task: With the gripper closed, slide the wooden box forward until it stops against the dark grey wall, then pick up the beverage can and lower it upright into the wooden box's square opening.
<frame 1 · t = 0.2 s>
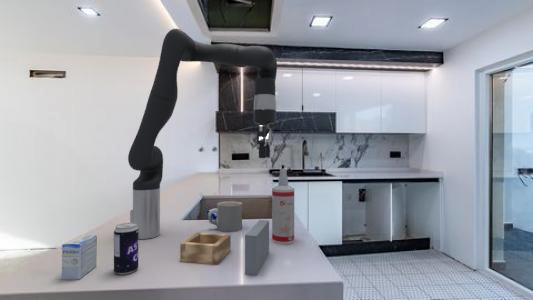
hand: (264, 157, 96), 29 cm above the counter, tool pointing down, fingers open, 8 cm apart
beverage can: (126, 272, 73), on the counter
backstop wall: (258, 263, 79), on the counter
medicine box: (80, 273, 73), on the counter
spray bottle: (283, 241, 98), on the counter
coffee mug: (225, 229, 114), on the counter
wooden box: (206, 247, 84), point 3 cm above the counter, slide at 0.0 cm
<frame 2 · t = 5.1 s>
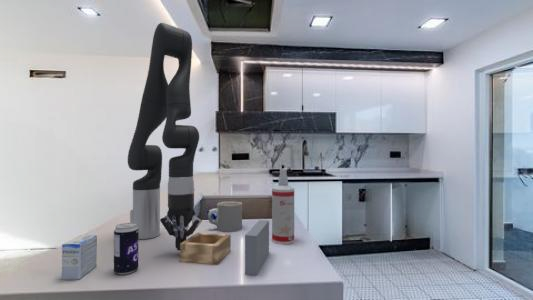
hand: (181, 249, 85), 2 cm above the counter, tool pointing down, fingers closed
wooden box: (206, 247, 84), point 3 cm above the counter, slide at 0.0 cm, touching gripper
everything else where it was.
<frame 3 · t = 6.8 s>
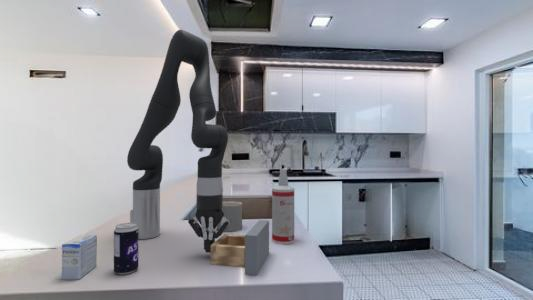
hand: (209, 251, 83), 2 cm above the counter, tool pointing down, fingers closed
wooden box: (236, 249, 82), point 3 cm above the counter, slide at 9.0 cm, touching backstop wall, gripper
everything else where it was.
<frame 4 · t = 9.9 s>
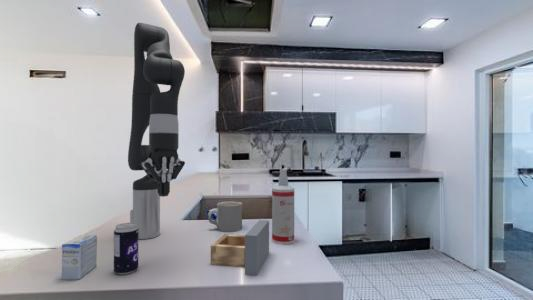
hand: (163, 195, 77), 19 cm above the counter, tool pointing down, fingers closed
wooden box: (236, 249, 82), point 3 cm above the counter, slide at 9.0 cm, touching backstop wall
everything else where it was.
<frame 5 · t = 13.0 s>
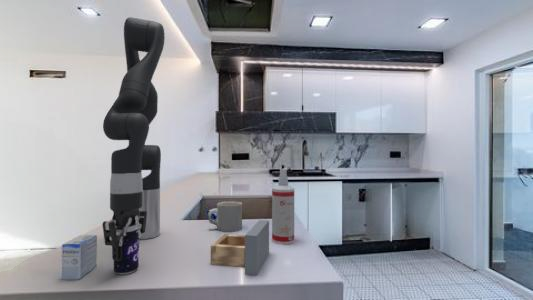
hand: (126, 255, 73), 4 cm above the counter, tool pointing down, fingers closed on beverage can, 5 cm apart
beverage can: (126, 272, 73), on the counter, touching gripper
everything else where it was.
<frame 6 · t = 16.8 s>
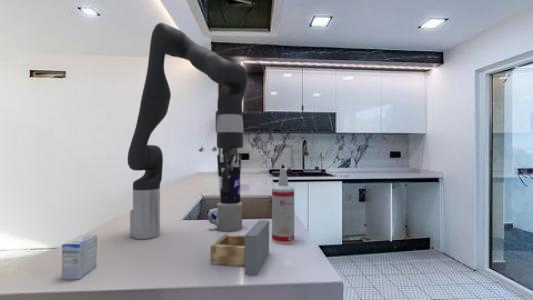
hand: (230, 190, 81), 20 cm above the counter, tool pointing down, fingers closed on beverage can, 5 cm apart
beverage can: (230, 205, 81), point 15 cm above the counter, touching gripper
everything else where it was.
when the fingers open (7 cm above the counter, at t = 20.6 s): beverage can drops 2 cm, resting on wooden box.
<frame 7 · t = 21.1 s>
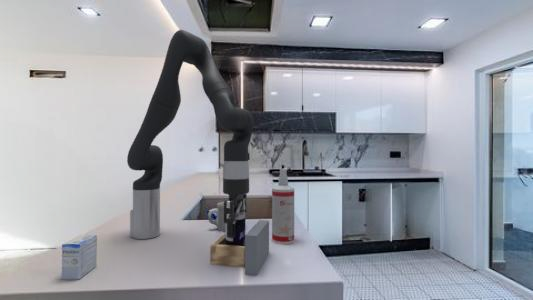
hand: (236, 233, 82), 7 cm above the counter, tool pointing down, fingers open, 8 cm apart
beverage can: (235, 255, 82), point 1 cm above the counter, touching wooden box
wooden box: (235, 249, 82), point 3 cm above the counter, slide at 8.9 cm, touching beverage can
everything else where it was.
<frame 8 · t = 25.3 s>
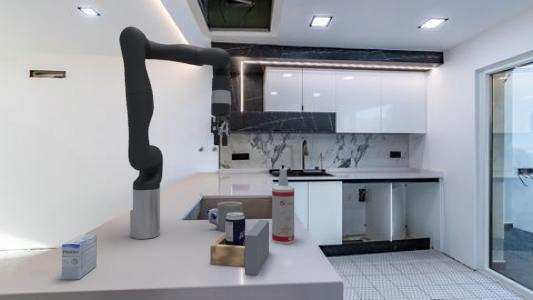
hand: (220, 145, 109), 33 cm above the counter, tool pointing down, fingers open, 8 cm apart
nothing on the counter moved.
at the end: wooden box slide at 8.9 cm; beverage can 0.2 cm from the wooden box (horizontally); beverage can tilted 0° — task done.
